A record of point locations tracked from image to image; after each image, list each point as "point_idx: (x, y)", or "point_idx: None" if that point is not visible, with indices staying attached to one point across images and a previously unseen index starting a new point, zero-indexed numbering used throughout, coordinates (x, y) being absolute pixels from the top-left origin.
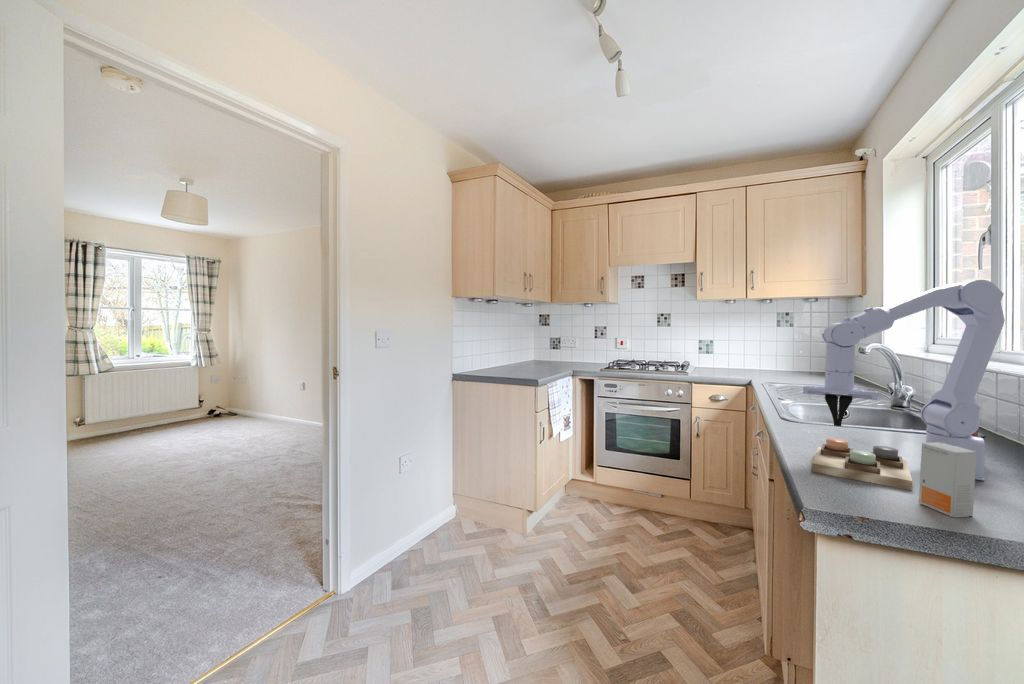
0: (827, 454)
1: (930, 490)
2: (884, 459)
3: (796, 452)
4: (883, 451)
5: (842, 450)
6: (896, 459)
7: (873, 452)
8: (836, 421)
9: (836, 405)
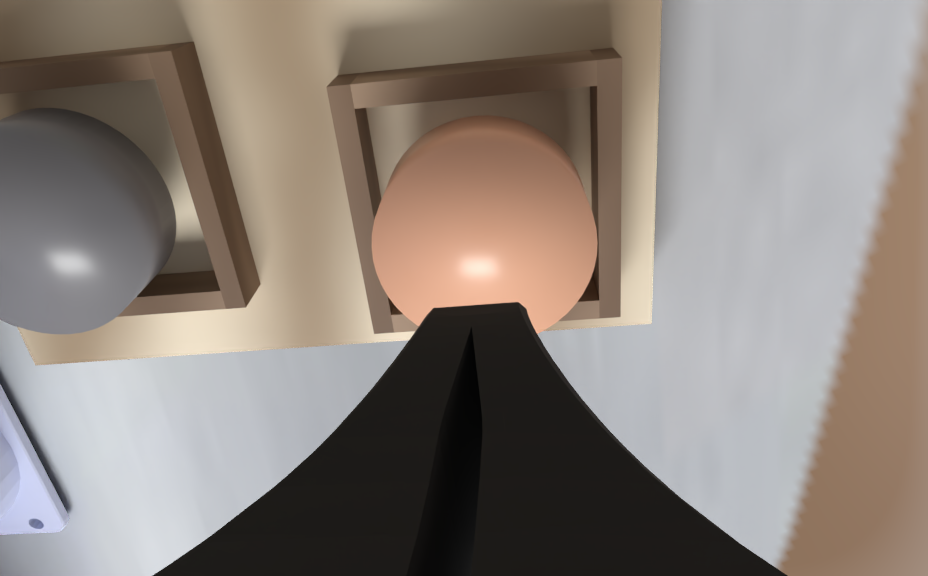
0: (550, 54)
1: None
2: None
3: (809, 221)
4: (9, 128)
5: None
6: None
7: (145, 180)
8: (486, 326)
9: (482, 560)
